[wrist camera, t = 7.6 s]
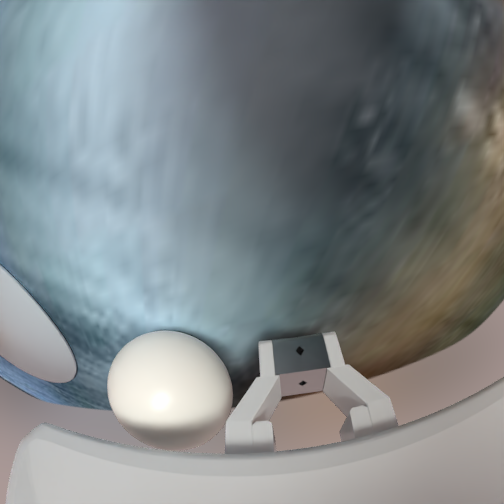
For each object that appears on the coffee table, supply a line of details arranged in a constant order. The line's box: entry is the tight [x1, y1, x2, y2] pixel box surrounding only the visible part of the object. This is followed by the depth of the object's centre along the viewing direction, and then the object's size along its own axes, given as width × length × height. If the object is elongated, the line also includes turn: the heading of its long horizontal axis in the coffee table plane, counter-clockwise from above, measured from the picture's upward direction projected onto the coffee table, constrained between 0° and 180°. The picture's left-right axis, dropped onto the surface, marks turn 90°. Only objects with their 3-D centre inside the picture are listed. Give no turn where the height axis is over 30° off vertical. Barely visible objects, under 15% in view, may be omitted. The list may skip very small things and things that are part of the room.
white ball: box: [107, 331, 233, 451], centre depth 10 cm, size 6×6×6 cm
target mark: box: [0, 265, 77, 383], centre depth 13 cm, size 14×14×1 cm
